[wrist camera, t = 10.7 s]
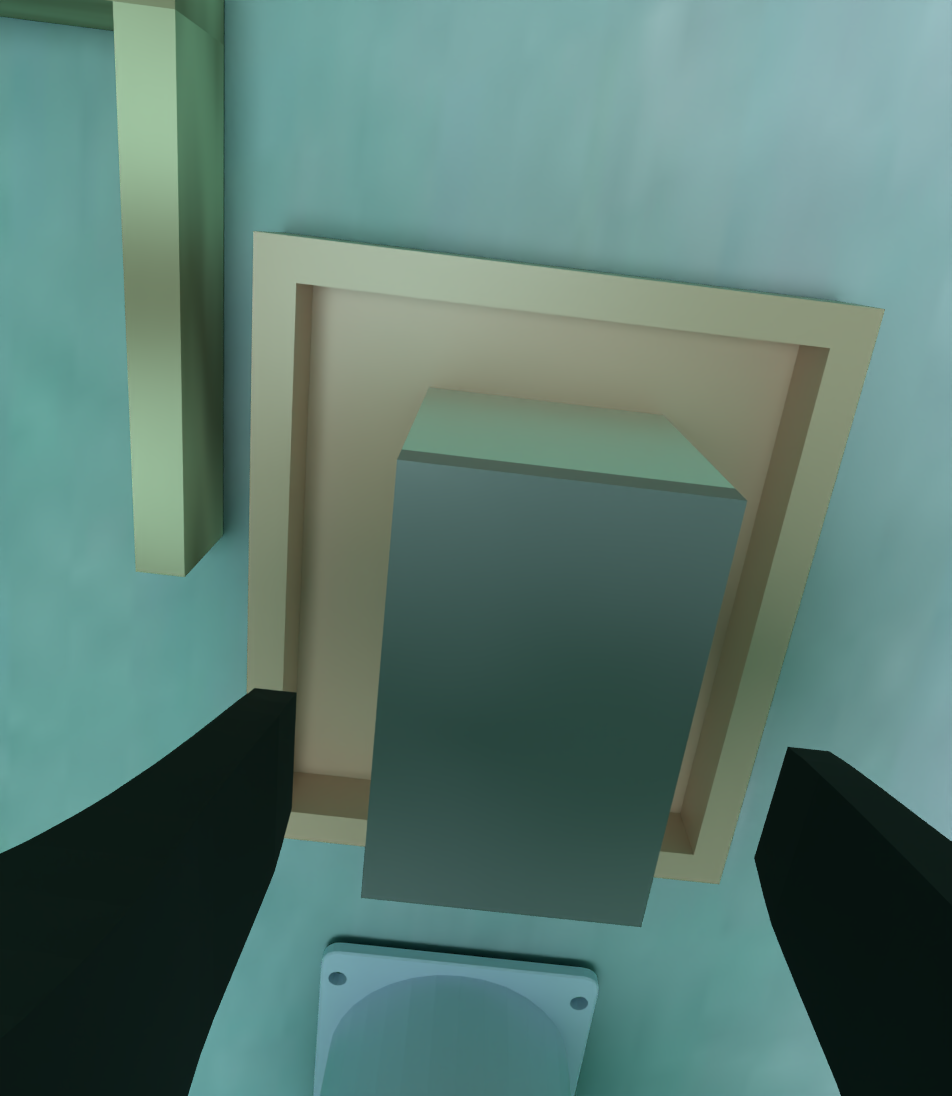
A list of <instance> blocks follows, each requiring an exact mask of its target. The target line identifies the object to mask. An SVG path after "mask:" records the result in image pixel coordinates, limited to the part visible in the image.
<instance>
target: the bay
mask: <svg viewBox="0 0 952 1096" xmlns="http://www.w3.org/2000/svg"><path fill="white" fill-rule="evenodd" d="M0 16H3V17H11V18H18V19H26V20H34V21H42V22H49V23H57V24H65V25H73V26H81V27H88V28H96V29H104V30H112V31H114V45H115V69H116V94H117V119H118V143H119V168H120V193H121V217H122V242H123V267H124V291H125V316H126V341H127V365H128V390H129V415H130V439H131V464H132V489H133V513H134V538H135V563H136V572H145V573H154V574H163V575H171V576H180V577H185V576H186V575H187V574H188V573H189V572H190V571H191V569H192V568H193V567H194V566H195V565H196V564H197V563H198V562H199V561H200V560H201V559H202V558H203V556H204V555H205V554H206V553H207V552H208V551H209V550H210V549H211V548H212V547H213V546H214V544H215V543H216V542H217V541H218V540H219V539H220V538H221V537H222V536H223V243H224V0H0Z"/></svg>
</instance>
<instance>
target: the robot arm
mask: <svg viewBox="0 0 952 1096" xmlns="http://www.w3.org/2000/svg"><path fill="white" fill-rule="evenodd" d="M296 698H297V693H296V692H287V691H278V690H269V689H260V688H254V689H253V690H251V691H250V692H249V693H247V694H246V695H245V696H243V697H242V698H241V699H239V700H238V701H237V702H235V703H234V704H233V705H232V706H230V707H229V708H228V709H226V710H225V711H224V712H223V713H221V714H220V715H219V716H218V717H216V718H215V719H214V720H213V721H211V722H210V723H209V724H207V725H206V726H205V727H204V728H202V729H201V730H200V731H198V732H197V733H196V734H195V735H193V736H192V737H191V738H189V739H188V740H187V741H185V742H184V743H183V744H181V745H180V746H179V747H177V748H176V749H175V750H173V751H172V752H171V753H169V754H168V755H166V756H165V757H164V758H162V759H161V760H160V761H158V762H157V763H156V764H154V765H153V766H151V767H150V768H148V769H147V770H145V771H144V772H142V773H141V774H139V775H138V776H136V777H135V778H133V779H132V780H130V781H129V782H127V783H126V784H124V785H123V786H121V787H120V788H118V789H117V790H115V791H114V792H112V793H111V794H109V795H108V796H106V797H105V798H103V799H101V800H100V801H98V802H96V803H95V804H93V805H91V806H90V807H88V808H86V809H85V810H83V811H81V812H79V813H78V814H76V815H74V816H73V817H71V818H69V819H67V820H65V821H63V822H62V823H60V824H58V825H56V826H54V827H52V828H51V829H49V830H47V831H45V832H43V833H41V834H40V835H38V836H36V837H34V838H32V839H30V840H28V841H26V842H24V843H22V844H20V845H18V846H16V847H14V848H11V849H9V850H7V851H5V852H3V853H1V854H0V1096H188V1093H189V1090H190V1087H191V1083H192V1080H193V1077H194V1074H195V1071H196V1067H197V1064H198V1061H199V1058H200V1055H201V1052H202V1049H203V1047H204V1044H205V1041H206V1038H207V1036H208V1033H209V1030H210V1028H211V1025H212V1022H213V1019H214V1017H215V1015H216V1012H217V1010H218V1007H219V1005H220V1003H221V1000H222V998H223V995H224V993H225V991H226V988H227V986H228V983H229V981H230V979H231V976H232V974H233V971H234V969H235V966H236V964H237V962H238V959H239V957H240V954H241V952H242V950H243V947H244V945H245V942H246V940H247V938H248V935H249V933H250V930H251V928H252V926H253V923H254V921H255V918H256V916H257V913H258V911H259V909H260V906H261V904H262V901H263V899H264V896H265V894H266V891H267V889H268V887H269V884H270V882H271V879H272V877H273V874H274V871H275V868H276V864H277V861H278V857H279V854H280V850H281V847H282V843H283V840H284V836H285V832H286V829H287V825H288V821H289V817H290V814H291V810H292V795H293V770H294V746H295V722H296ZM754 859H755V863H756V867H757V871H758V875H759V879H760V883H761V887H762V892H763V896H764V899H765V903H766V906H767V910H768V913H769V917H770V921H771V924H772V927H773V929H774V932H775V935H776V937H777V940H778V942H779V945H780V947H781V950H782V952H783V955H784V957H785V960H786V962H787V965H788V967H789V970H790V972H791V974H792V977H793V979H794V982H795V984H796V987H797V989H798V991H799V994H800V996H801V999H802V1001H803V1004H804V1006H805V1008H806V1011H807V1013H808V1016H809V1018H810V1020H811V1023H812V1025H813V1028H814V1030H815V1032H816V1035H817V1037H818V1040H819V1042H820V1045H821V1047H822V1049H823V1052H824V1054H825V1057H826V1059H827V1061H828V1064H829V1066H830V1069H831V1071H832V1074H833V1076H834V1078H835V1081H836V1083H837V1086H838V1089H839V1091H840V1094H841V1096H952V841H950V840H949V839H947V838H946V837H945V836H943V835H942V834H941V833H939V832H938V831H937V830H936V829H934V828H933V827H932V826H930V825H929V824H928V823H926V822H925V821H924V820H922V819H921V818H920V817H918V816H917V815H916V814H914V813H913V812H912V811H910V810H909V809H908V808H907V807H905V806H904V805H903V804H901V803H900V802H899V801H897V800H896V799H895V798H893V797H892V796H891V795H890V794H888V793H887V792H886V791H884V790H883V789H882V788H880V787H879V786H878V785H876V784H875V783H874V782H872V781H871V780H870V779H868V778H867V777H866V776H864V775H863V774H862V773H860V772H859V771H858V770H856V769H855V768H853V767H852V766H851V765H849V764H848V763H846V762H845V761H843V760H842V759H840V758H839V757H837V756H836V755H834V754H832V753H831V752H829V751H821V750H812V749H803V748H794V747H788V748H787V751H786V755H785V758H784V761H783V765H782V768H781V771H780V775H779V778H778V781H777V785H776V788H775V791H774V795H773V798H772V801H771V804H770V808H769V811H768V814H767V818H766V821H765V824H764V828H763V831H762V834H761V838H760V841H759V844H758V848H757V851H756V854H755V858H754ZM335 972H340V973H342V974H339V973H335ZM598 992H599V985H598V978H597V976H596V974H595V973H594V972H593V971H591V970H590V969H587V968H583V967H573V966H564V965H554V964H544V963H535V962H525V961H516V960H506V959H496V958H487V957H477V956H467V955H458V954H448V953H438V952H429V951H419V950H409V949H400V948H390V947H380V946H371V945H361V944H351V943H333V944H331V945H329V946H328V947H327V948H326V949H325V950H324V953H323V957H322V962H321V975H320V991H319V1007H318V1023H317V1040H316V1056H315V1072H314V1088H313V1096H574V1095H575V1091H576V1087H577V1082H578V1078H579V1074H580V1070H581V1065H582V1061H583V1057H584V1052H585V1048H586V1044H587V1040H588V1035H589V1031H590V1027H591V1022H592V1018H593V1014H594V1010H595V1005H596V1001H597V997H598ZM575 997H581V998H575Z"/></svg>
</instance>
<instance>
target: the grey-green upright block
mask: <svg viewBox="0 0 952 1096" xmlns="http://www.w3.org/2000/svg"><path fill="white" fill-rule="evenodd" d="M746 504H747V500H746V499H745V498H744V497H743V496H742V495H741V494H740V493H739V492H738V491H737V490H736V489H735V488H734V487H733V486H732V485H731V484H730V483H729V482H728V481H727V480H726V478H725V477H724V476H723V475H722V474H721V473H720V472H719V471H718V470H717V469H716V468H715V467H714V466H713V465H712V464H711V463H710V462H709V461H708V460H707V459H706V458H705V457H704V456H703V455H702V454H701V453H700V452H699V451H698V450H697V449H696V448H695V447H694V446H693V445H692V444H691V443H690V442H689V441H688V440H687V439H686V438H685V437H684V436H683V435H682V434H681V433H680V432H679V431H678V430H677V429H676V428H675V427H674V426H673V424H672V423H671V422H670V421H669V420H668V419H667V418H666V417H665V416H664V415H658V414H649V413H641V412H633V411H624V410H616V409H608V408H599V407H591V406H582V405H574V404H566V403H557V402H549V401H541V400H532V399H524V398H516V397H507V396H499V395H490V394H482V393H474V392H465V391H457V390H449V389H440V388H432V387H429V388H428V390H427V393H426V395H425V397H424V400H423V402H422V404H421V406H420V409H419V411H418V413H417V415H416V418H415V420H414V422H413V425H412V427H411V429H410V431H409V434H408V436H407V438H406V440H405V443H404V445H403V447H402V450H401V452H400V454H399V456H398V459H397V467H396V479H395V491H394V503H393V515H392V527H391V539H390V552H389V564H388V576H387V588H386V600H385V612H384V625H383V637H382V649H381V661H380V673H379V685H378V697H377V710H376V722H375V734H374V746H373V758H372V770H371V782H370V795H369V807H368V819H367V831H366V843H365V855H364V868H363V880H362V892H361V898H368V899H378V900H387V901H397V902H406V903H416V904H425V905H435V906H444V907H454V908H464V909H473V910H483V911H492V912H502V913H511V914H521V915H530V916H540V917H549V918H559V919H569V920H578V921H588V922H597V923H607V924H616V925H626V926H635V927H641V926H642V922H643V918H644V914H645V910H646V906H647V901H648V897H649V893H650V889H651V885H652V881H653V877H654V873H655V869H656V865H657V861H658V857H659V853H660V849H661V845H662V841H663V837H664V833H665V829H666V825H667V821H668V817H669V813H670V809H671V805H672V801H673V797H674V793H675V789H676V785H677V781H678V777H679V773H680V769H681V765H682V761H683V757H684V753H685V749H686V745H687V741H688V737H689V733H690V729H691V725H692V721H693V717H694V713H695V709H696V705H697V701H698V697H699V693H700V689H701V685H702V681H703V677H704V673H705V669H706V665H707V661H708V657H709V653H710V649H711V645H712V641H713V637H714V633H715V629H716V625H717V621H718V617H719V613H720V609H721V605H722V601H723V597H724V593H725V589H726V585H727V581H728V576H729V572H730V568H731V564H732V560H733V556H734V552H735V548H736V544H737V540H738V536H739V532H740V528H741V524H742V520H743V516H744V512H745V508H746Z"/></svg>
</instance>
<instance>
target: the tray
mask: <svg viewBox="0 0 952 1096" xmlns="http://www.w3.org/2000/svg"><path fill="white" fill-rule="evenodd" d="M884 311H885V309H881V308H875V307H869V306H863V305H857V304H852V303H846V302H840V301H832V300H824V299H816V298H808V297H800V296H792V295H784V294H776V293H768V292H760V291H752V290H743V289H735V288H727V287H719V286H711V285H703V284H695V283H687V282H679V281H671V280H663V279H654V278H646V277H638V276H630V275H622V274H614V273H606V272H598V271H590V270H582V269H574V268H566V267H557V266H549V265H541V264H533V263H525V262H517V261H509V260H501V259H493V258H485V257H477V256H468V255H460V254H452V253H444V252H436V251H428V250H420V249H412V248H404V247H396V246H388V245H380V244H371V243H363V242H355V241H347V240H339V239H331V238H323V237H315V236H307V235H299V234H291V233H282V232H260V231H253V298H252V367H251V436H250V505H249V574H248V643H247V693H249V692H250V691H251V690H253V689H254V688H260V689H269V690H278V691H287V692H296V693H297V698H296V722H295V746H294V770H293V795H292V810H291V814H290V817H289V821H288V825H287V829H286V832H285V836H284V838H289V839H298V840H308V841H317V842H326V843H336V844H345V845H355V846H364V847H365V843H366V831H367V819H368V807H369V795H370V782H371V770H372V758H373V746H374V734H375V722H376V710H377V697H378V685H379V673H380V661H381V649H382V637H383V625H384V612H385V600H386V588H387V576H388V564H389V552H390V539H391V527H392V515H393V503H394V491H395V479H396V467H397V459H398V456H399V454H400V452H401V450H402V447H403V445H404V443H405V440H406V438H407V436H408V434H409V431H410V429H411V427H412V425H413V422H414V420H415V418H416V415H417V413H418V411H419V409H420V406H421V404H422V402H423V400H424V397H425V395H426V393H427V390H428V388H429V387H432V388H440V389H449V390H457V391H465V392H474V393H482V394H490V395H499V396H507V397H516V398H524V399H532V400H541V401H549V402H557V403H566V404H574V405H582V406H591V407H599V408H608V409H616V410H624V411H633V412H641V413H649V414H658V415H664V416H665V417H666V418H667V419H668V420H669V421H670V422H671V423H672V424H673V426H674V427H675V428H676V429H677V430H678V431H679V432H680V433H681V434H682V435H683V436H684V437H685V438H686V439H687V440H688V441H689V442H690V443H691V444H692V445H693V446H694V447H695V448H696V449H697V450H698V451H699V452H700V453H701V454H702V455H703V456H704V457H705V458H706V459H707V460H708V461H709V462H710V463H711V464H712V465H713V466H714V467H715V468H716V469H717V470H718V471H719V472H720V473H721V474H722V475H723V476H724V477H725V478H726V480H727V481H728V482H729V483H730V484H731V485H732V486H733V487H734V488H735V489H736V490H737V491H738V492H739V493H740V494H741V495H742V496H743V497H744V498H745V499H746V500H747V504H746V508H745V512H744V516H743V520H742V524H741V528H740V532H739V536H738V540H737V544H736V548H735V552H734V556H733V560H732V564H731V568H730V572H729V576H728V581H727V585H726V589H725V593H724V597H723V601H722V605H721V609H720V613H719V617H718V621H717V625H716V629H715V633H714V637H713V641H712V645H711V649H710V653H709V657H708V661H707V665H706V669H705V673H704V677H703V681H702V685H701V689H700V693H699V697H698V701H697V705H696V709H695V713H694V717H693V721H692V725H691V729H690V733H689V737H688V741H687V745H686V749H685V753H684V757H683V761H682V765H681V769H680V773H679V777H678V781H677V785H676V789H675V793H674V797H673V801H672V805H671V809H670V813H669V817H668V821H667V825H666V829H665V833H664V837H663V841H662V845H661V849H660V853H659V857H658V861H657V865H656V869H655V873H654V877H655V878H665V879H674V880H684V881H693V882H702V883H712V884H719V883H720V880H721V876H722V873H723V869H724V866H725V862H726V859H727V855H728V852H729V848H730V845H731V841H732V838H733V835H734V831H735V828H736V824H737V821H738V817H739V814H740V810H741V807H742V803H743V800H744V796H745V793H746V789H747V786H748V783H749V779H750V776H751V772H752V769H753V765H754V762H755V758H756V755H757V751H758V748H759V744H760V741H761V737H762V734H763V731H764V727H765V724H766V720H767V717H768V713H769V710H770V706H771V703H772V699H773V696H774V692H775V689H776V685H777V682H778V678H779V675H780V672H781V668H782V665H783V661H784V658H785V654H786V651H787V647H788V644H789V640H790V637H791V633H792V630H793V626H794V623H795V620H796V616H797V613H798V609H799V606H800V602H801V599H802V595H803V592H804V588H805V585H806V581H807V578H808V574H809V571H810V568H811V564H812V561H813V557H814V554H815V550H816V547H817V543H818V540H819V536H820V533H821V529H822V526H823V522H824V519H825V515H826V512H827V509H828V505H829V502H830V498H831V495H832V491H833V488H834V484H835V481H836V477H837V474H838V470H839V467H840V463H841V460H842V457H843V453H844V450H845V446H846V443H847V439H848V436H849V432H850V429H851V425H852V422H853V418H854V415H855V411H856V408H857V405H858V401H859V398H860V394H861V391H862V387H863V384H864V380H865V377H866V373H867V370H868V366H869V363H870V359H871V356H872V352H873V349H874V346H875V342H876V339H877V335H878V332H879V328H880V325H881V321H882V318H883V314H884Z"/></svg>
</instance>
